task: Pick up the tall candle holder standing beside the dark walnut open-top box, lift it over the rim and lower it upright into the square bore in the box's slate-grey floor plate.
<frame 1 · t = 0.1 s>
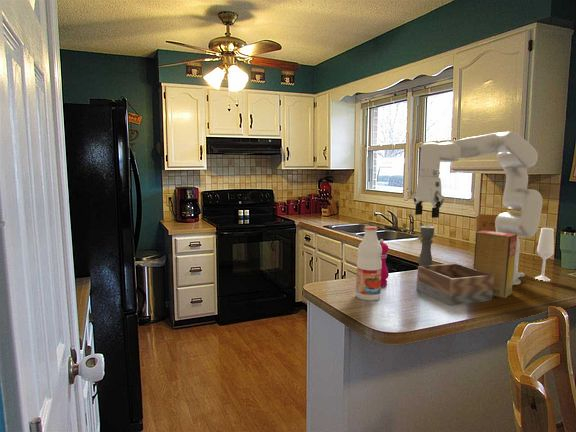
hand: (426, 216, 164), 31 cm above the worktop, tool pointing down, fingers open, 9 cm apart
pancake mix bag: (492, 268, 207), on the worktop
open box: (452, 294, 162), on the worktop
food packaging: (491, 292, 166), on the worktop
champagne flute: (542, 279, 187), on the worktop
fruit juice: (367, 297, 157), on the worktop
candle holder: (424, 282, 178), on the worktop
pepper mill: (379, 284, 174), on the worktop
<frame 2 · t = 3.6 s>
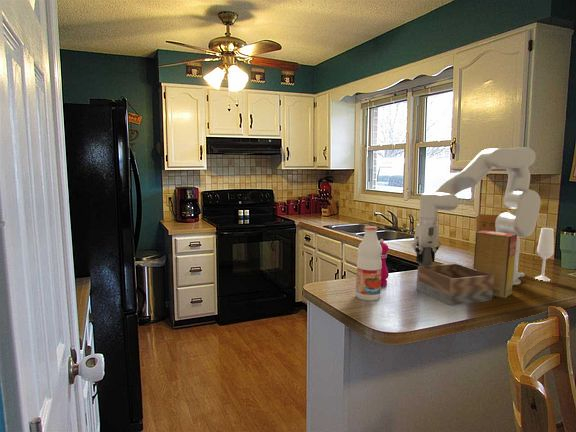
hand: (425, 261, 177), 10 cm above the worktop, tool pointing down, fingers closed on candle holder, 5 cm apart
candle holder: (424, 282, 179), on the worktop, touching gripper
everything else where it was.
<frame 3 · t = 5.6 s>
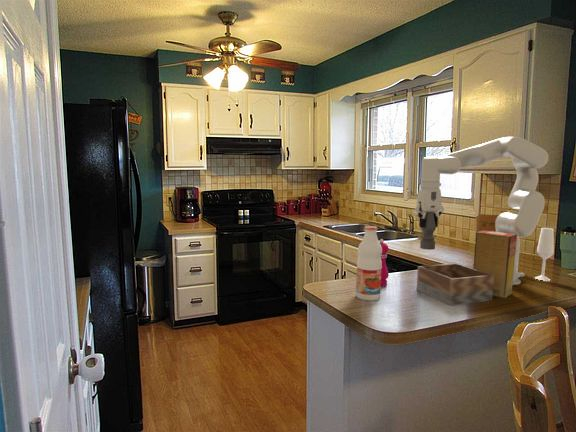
hand: (428, 226, 175), 25 cm above the worktop, tool pointing down, fingers closed on candle holder, 5 cm apart
candle holder: (427, 248, 177), point 15 cm above the worktop, touching gripper
everything else where it was.
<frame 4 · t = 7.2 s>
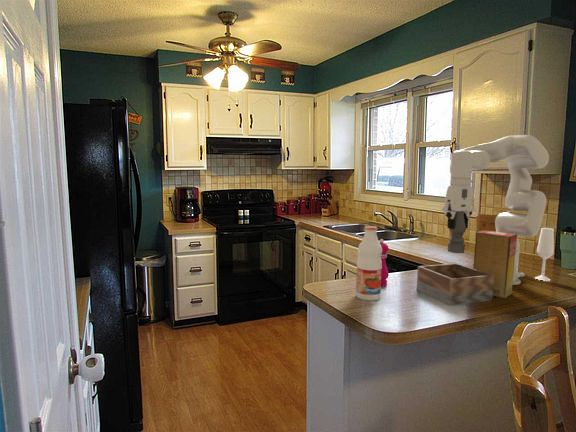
hand: (457, 227, 158), 27 cm above the worktop, tool pointing down, fingers closed on candle holder, 5 cm apart
candle holder: (455, 252, 160), point 18 cm above the worktop, touching gripper
everything else where it was.
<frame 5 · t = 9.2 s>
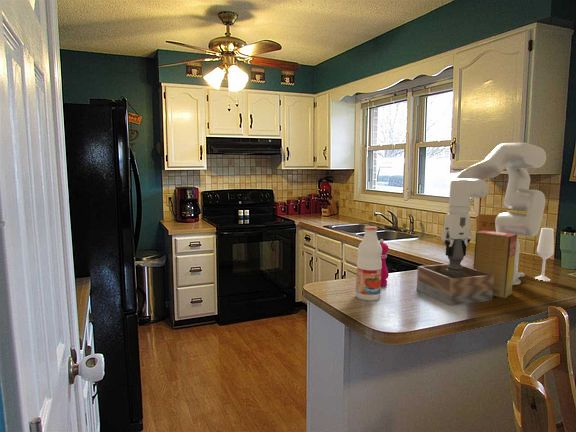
hand: (455, 255, 160), 16 cm above the worktop, tool pointing down, fingers closed on candle holder, 5 cm apart
candle holder: (453, 278, 161), point 7 cm above the worktop, touching gripper
everything else where it was.
when the fingers open (11 cm above the worktop, at t = 11.1 s): candle holder drops 2 cm, resting in open box.
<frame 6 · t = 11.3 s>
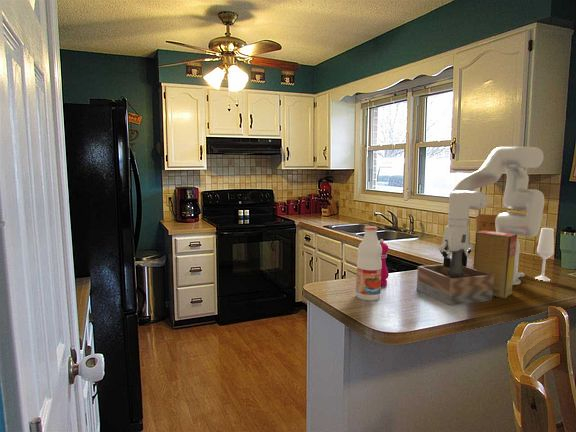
hand: (454, 266, 160), 12 cm above the worktop, tool pointing down, fingers open, 7 cm apart
candle holder: (453, 294, 162), resting in open box
everything else where it was.
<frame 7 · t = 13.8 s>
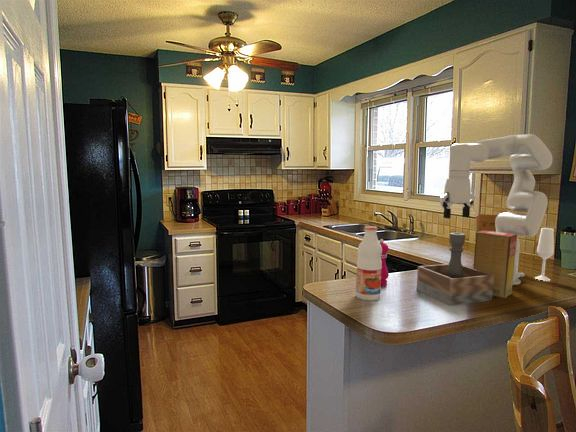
hand: (456, 217, 162), 31 cm above the worktop, tool pointing down, fingers open, 9 cm apart
nothing on the worktop moved.
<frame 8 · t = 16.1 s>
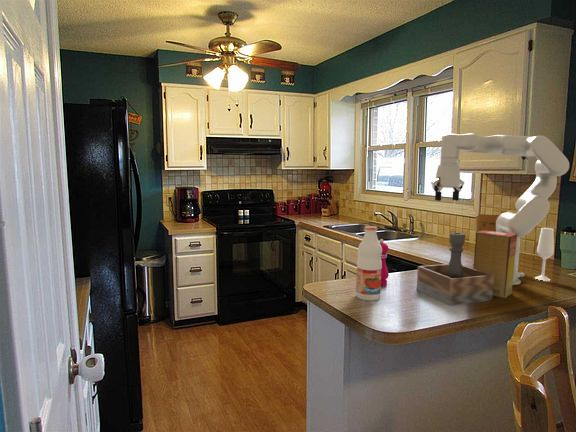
hand: (446, 200, 181), 36 cm above the worktop, tool pointing down, fingers open, 9 cm apart
nothing on the worktop moved.
at the end: candle holder 0.2 cm off-centre on the open box, point 0.0 cm above the open box's base; candle holder tilted 0°; the gripper is holding nothing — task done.
